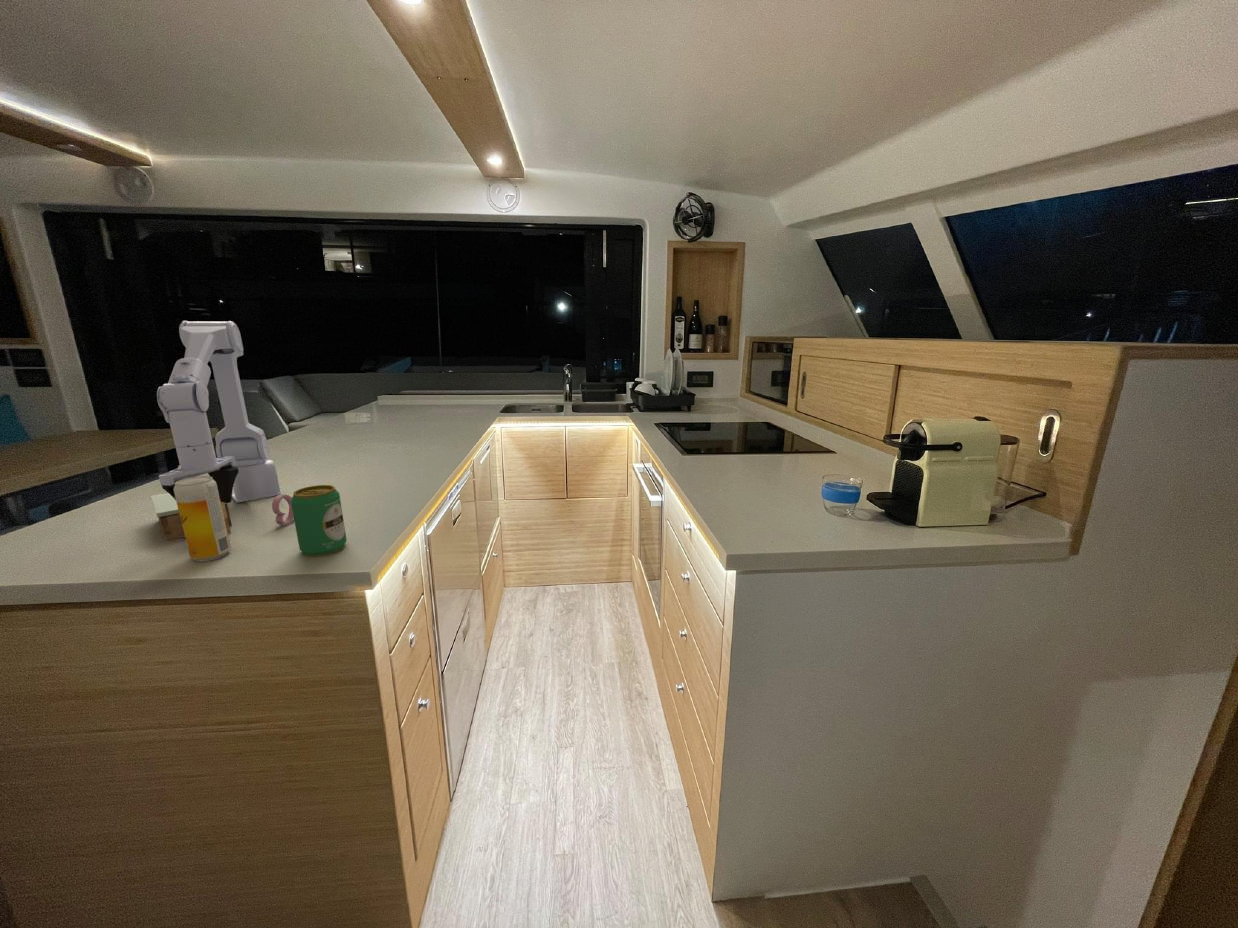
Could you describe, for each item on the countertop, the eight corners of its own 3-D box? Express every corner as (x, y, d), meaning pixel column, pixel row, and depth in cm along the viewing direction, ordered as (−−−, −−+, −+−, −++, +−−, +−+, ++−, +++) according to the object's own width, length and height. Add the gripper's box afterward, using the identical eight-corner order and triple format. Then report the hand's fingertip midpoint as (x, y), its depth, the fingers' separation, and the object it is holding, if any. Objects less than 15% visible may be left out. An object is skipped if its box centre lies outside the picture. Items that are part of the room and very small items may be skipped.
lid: (217, 487, 119) (213, 472, 118) (228, 503, 108) (225, 486, 107) (151, 499, 111) (147, 483, 110) (157, 517, 101) (152, 499, 100)
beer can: (206, 549, 98) (188, 476, 94) (239, 548, 98) (222, 475, 94) (182, 563, 92) (162, 485, 88) (217, 562, 92) (199, 484, 88)
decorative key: (335, 510, 127) (279, 527, 107) (330, 510, 127) (273, 527, 107) (333, 483, 127) (276, 496, 107) (329, 483, 127) (271, 496, 107)
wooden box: (220, 508, 120) (215, 489, 119) (232, 525, 110) (227, 505, 108) (159, 520, 113) (153, 500, 112) (165, 540, 102) (159, 518, 101)
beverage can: (327, 559, 93) (317, 498, 90) (290, 556, 95) (278, 495, 91) (356, 541, 101) (347, 485, 98) (321, 539, 102) (311, 483, 99)
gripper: (209, 435, 106) (223, 496, 110) (138, 452, 92) (156, 520, 96) (239, 436, 105) (252, 497, 109) (171, 453, 91) (188, 522, 95)
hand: (209, 508), depth 102 cm, fingers open, 7 cm apart
